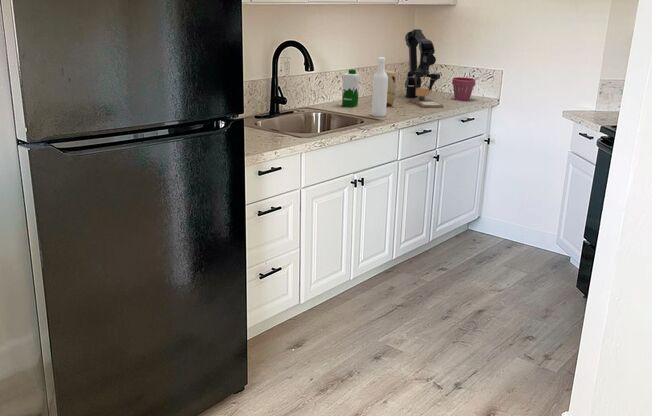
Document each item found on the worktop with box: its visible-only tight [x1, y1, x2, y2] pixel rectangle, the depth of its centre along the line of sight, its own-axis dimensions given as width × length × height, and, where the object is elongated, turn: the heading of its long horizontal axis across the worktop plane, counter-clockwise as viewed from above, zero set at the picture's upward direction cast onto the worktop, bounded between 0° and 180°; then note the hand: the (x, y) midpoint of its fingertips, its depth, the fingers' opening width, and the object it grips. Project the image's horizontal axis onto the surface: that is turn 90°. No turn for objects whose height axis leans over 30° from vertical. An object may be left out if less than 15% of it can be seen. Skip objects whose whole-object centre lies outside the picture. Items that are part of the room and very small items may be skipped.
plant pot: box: [451, 76, 477, 101], centre depth 388 cm, size 14×14×13 cm
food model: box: [384, 70, 397, 107], centre depth 359 cm, size 10×7×20 cm
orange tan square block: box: [416, 87, 430, 97], centre depth 373 cm, size 6×6×4 cm
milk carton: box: [341, 69, 360, 108], centre depth 354 cm, size 9×9×20 cm
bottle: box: [370, 56, 388, 118], centre depth 328 cm, size 8×8×30 cm
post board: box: [408, 96, 444, 109], centre depth 368 cm, size 24×12×8 cm, turn 14°
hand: (422, 89), depth 373 cm, fingers open, 9 cm apart
